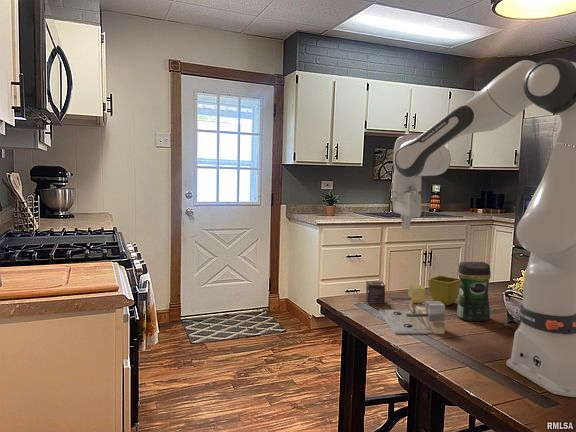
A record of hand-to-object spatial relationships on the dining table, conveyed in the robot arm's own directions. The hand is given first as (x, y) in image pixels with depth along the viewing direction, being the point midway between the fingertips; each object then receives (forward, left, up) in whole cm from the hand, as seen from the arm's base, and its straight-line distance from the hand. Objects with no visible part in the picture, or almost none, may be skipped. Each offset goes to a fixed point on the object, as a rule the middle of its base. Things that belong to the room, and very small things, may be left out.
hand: (405, 228), depth 140 cm
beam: (-4, -3, -29) cm, 30 cm away
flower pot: (+15, -19, -29) cm, 38 cm away
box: (+16, +6, -29) cm, 34 cm away
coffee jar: (-2, -22, -29) cm, 37 cm away
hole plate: (-6, +2, -29) cm, 30 cm away
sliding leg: (+6, -3, -26) cm, 27 cm away
